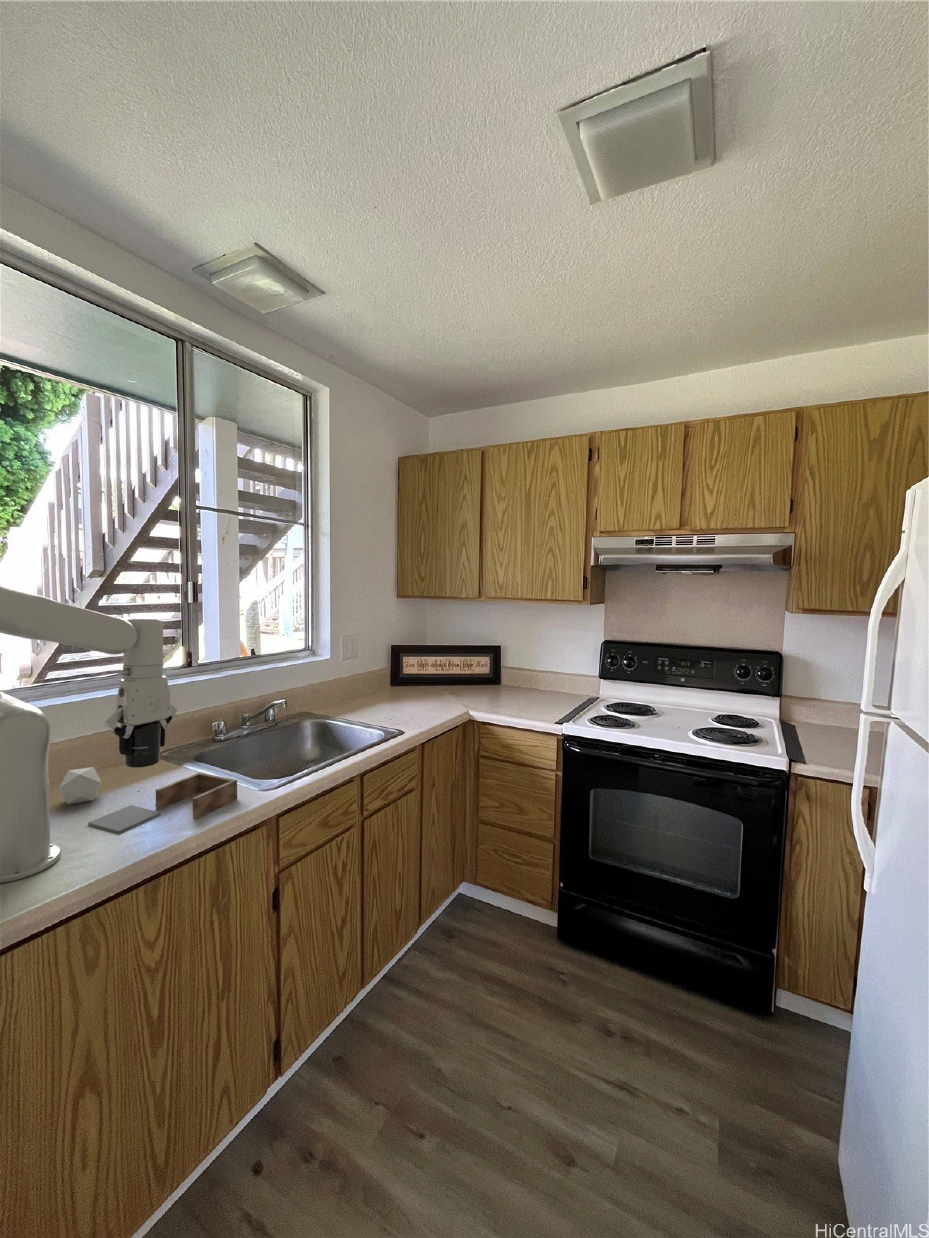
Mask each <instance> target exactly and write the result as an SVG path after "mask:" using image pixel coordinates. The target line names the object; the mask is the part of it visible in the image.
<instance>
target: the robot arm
mask: <svg viewBox="0 0 929 1238" xmlns="http://www.w3.org/2000/svg"><path fill="white" fill-rule="evenodd" d="M0 634H3V635H4V634H5V635H8V636H13V637H19V638H21V639H28V640H33V641H34V640H37V641H43V642H50V643H57V644H60V645H61V644H62V645H66V646H70V647H76V648H79V649H80V648H81V649H85V650H89V651H94V652H99V653H102V654H106V655H115V656H116V655H122V654H123V657H122V659H123V661H122V662H123V664H122V669H119V670H118V672H117V673H118V675H119V677H121V676H122V679H120V682H119V685H118V690H117V696H116V702H115V703H116V704H115V711H114V713H112V715H111V716H110V717H108V718H107V720H106V721H105V722H104V725H105V727H107V728H108V729H109V730H110V731H111V732H112V733H113V734H115V736H116V737H118V739H119V740H118V741H119V742H118V744H119V745H118V750H119V754H120V755H123V756H125V755H127V756H130V755H132V749H133V739H132V737H130V734H131V732H132V730H133V728H134V726H137V725H142V724H147V723H151V722H155V721H157V722H159V723H160V725H161V743H160V748H161V747H165V745H166V744H165V743H166V742H165V741H166V729H168V727H169V724H170V723H171V721H172V720H173V717H174V716H175V715H176V713H177V712H178V709H177V707H175V706H174V705H173V704H171V694H170V687H169V686H170V685H169V682H168V677H167V676H165V675H164V622H163V620H162V619H161V618H159V617H154V616H134V617H133V616H132V617H127V618H124V617H116V616H112V615H109V614H105V613H101V612H98V611H94V610H91V609H87V608H83V607H79V606H76V605H72V604H68V603H64V602H62V601H57V600H55V599H51V598H50V597H47V596H43V595H39V594H35V593H32V592H29V591H25V590H21V589H17V588H13V587H9V586H6V585H2V584H0ZM118 724H120V725H119V726H118ZM126 727H127V728H126ZM51 738H52V727H51V723H50V720H49V718H48V716H46V714H45V712H43V711H42V709H40V708H38V707H37V706H35V705H32V704H30V703H27V702H25V701H23V700H22V699H21V700H20V699H19V698H17V697H14V696H11V695H9V694H6V693H5V692H1V691H0V884H2V883H8V882H13V881H17V880H21V879H24V878H27V877H30V876H32V875H35V874H38V873H40V872H43V871H44V870H45V869H48V868H50V867H51V866H52V865H54V864H55V863H56V862H57V861H58V860H59V859H60V857H61V854H62V853H61V848H60V846H58V845H56V844H54V843H51V824H50V823H51V822H50V818H51V816H50V784H49V783H50V782H49V758H50V757H49V754H50V746H51V741H52V740H51Z"/></svg>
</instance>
